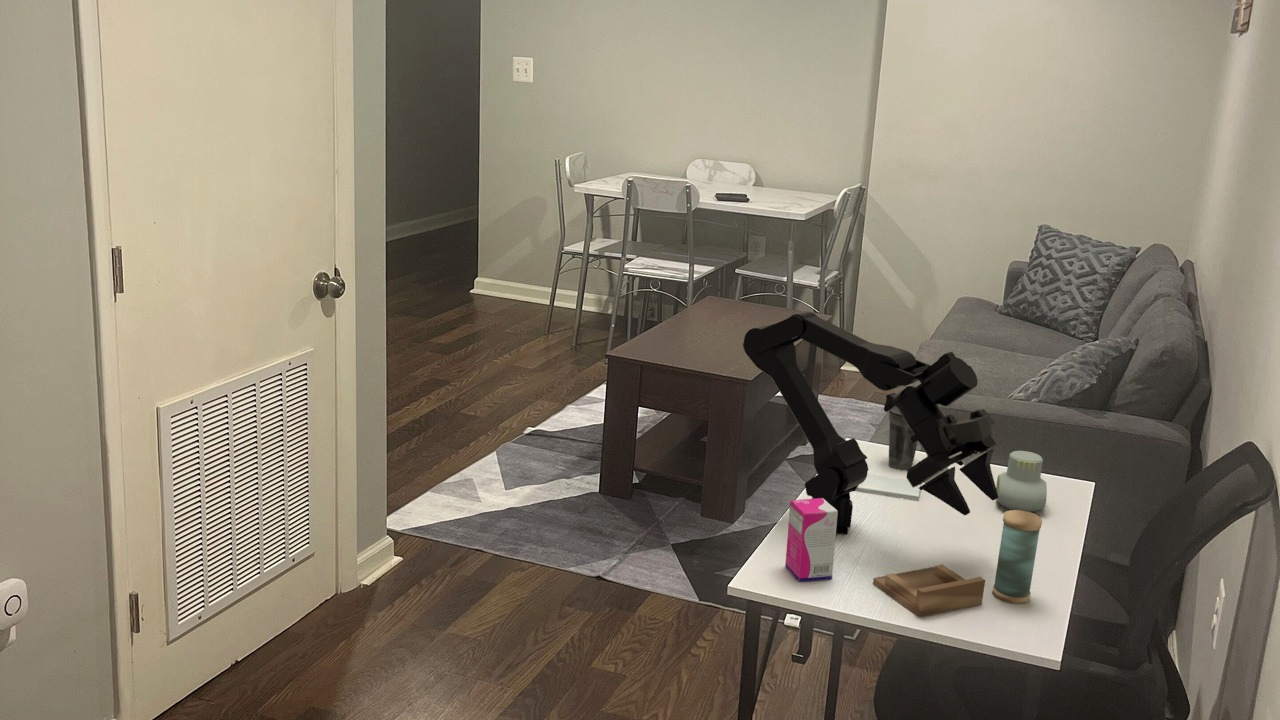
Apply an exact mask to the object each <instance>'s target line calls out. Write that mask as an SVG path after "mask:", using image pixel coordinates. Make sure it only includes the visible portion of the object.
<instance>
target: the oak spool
mask: <svg viewBox="0 0 1280 720" xmlns="http://www.w3.org/2000/svg"><path fill="white" fill-rule="evenodd" d="M1002 522H1003V525H1002V531H1001V532H1002V533H1001V538H1000V546H999V552H998V556H997V565H996V571H995V580H994V583H993V586H992V589H991V590H992V591H991V594H992V595H993V597H995V598H996V599H997V600H999V601H1002V602H1005V603H1008V604H1013V605H1022V604H1023V605H1024V604H1027V603H1028V602H1029V601H1030V599H1031V585H1032V580H1033V579H1032V578H1033V574H1034V568H1035V562H1036V561H1035V560H1036V555H1037V548H1038V541H1039V536H1040V531H1041V528H1042V524H1043V519H1042V518H1041V516H1039V515H1038V514H1036V513H1033V512H1027V511H1021V510H1012V509H1008V510H1006V511H1005V512H1003V517H1002Z"/></svg>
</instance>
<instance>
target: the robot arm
mask: <svg viewBox="0 0 1280 720" xmlns="http://www.w3.org/2000/svg"><path fill="white" fill-rule="evenodd" d="M800 340H803V341H805V342H807V343H809V344H811V345H813V346H815V347H816V348H819V349H821V350H822V351H824V352H827V353H829V354H831V355H833V356H834V357H837V358H838V359H840V360H842V361H844V362H846V363H848V364H850V365H852V366H853V367H855V368H856V369H857V370H858V371H859V373H860V375H861V376H862V377H863V378H864V379H865V380H867V381H868V382H869V383H870V384H872V385H873V386H875V387H876V389H879V390H882V391H886V392H887V391H891V390H894V389H897V388H900V387H904V388H903V389H902V390H900V391H899V392H898V393H895V392H892V393H889V394H887V395H886V396H885V398H886V400H885V403H884V408H883V411H884V412H885V413H889V411H891V410H893V409H896V408H897V409H898V410H899V412H900V413H901V415H902V417H903V418H904V420H905V421H906V423H907V424H908V426H909V428H910V429H911V431H912V432H913V434H914V436H912V437H911V438H910V439H911V441H912V442H913V443H916V442H917V443H919V445H920V446H921V448H922V450H923V451H924V452H925V454H926V457H924V458H922V459H921V460H920V461H918V462H917V463H915V464H914V465H912V467H911V468H909V469H908V470H906V480H908V481H909V483H910V484H911V486H912V487H913V488H914V487H916V486H918V485H920V484H921V487H919V489H920V491H925V492H926V493H928V494H930V495H931V496H933V497H935V498H936V499H938V500H940V501H941V502H943V503H945V504H946V505H947V506H950V507H951V508H952V509H954V510H955V511H957V512H959V513H960V514H961V515H962V516H967V515H968V514H970V513H971V510H970V508H969V505H968V503H967V501H966V499H965V497H964V496H963V493H962V492H961V489H960V488H959V486H958V484H957V481H956V480H955V479H956V478H955V476H956V466H953V467H950V466H951V465H954V464H957V465H959V466H962V467H960V468H958V470H959V471H961V473H962V474H963V475H964V476H966V478H967V479H969V480H970V481H971V482H972V483H973V484H974V486H976V487H977V488H978V489H979V490H980V491H981V492H982V493H983V494H984V495H985V496H986V497H988V498H989V499H990V500H991V501H996V499H997V498H998V493H997V489H996V483H995V479H994V476H993V472H992V468H991V460H992V457H993V454H994V453H995V448H994V447H995V446H996V445H997V443H996V441H995V440H994V438H993V437H992V436H994V433H993V430H992V427H993V425H994V424H995V420H994V419H993V418H992V417H991V415H990V414H989V413H988V412H987V411H986V410H985V408H981V409H977V410H974V411H972V412H970V415H969V418H966V419H964V420H957V419H956V417H955V416H954V415H952V414H948V415H946V414H945V413H944V411H943V410H942V408H941V407H940V405H941V406H942V407H949V406H950V405H952V404H953V403H955V402H956V401H957V400H959V399H960V398H962V397H964V396H965V395H966V394H968V393H969V392H971V391H972V390H973V389H975V388H976V387H977V386H978V383H979V382H978V376H977V374H976V372H975V370H974V369H973V367H972V366H971V365H968V364H967V362H966V361H964V360H963V359H962V358H959V357H957V356H956V355H955V354H954V352H953V351H948V352H946V353H944V354H943V355H941V356H940V357H939V358H938V360H936V361H935V362H933V364H932V363H931V364H928V363H926V362H924V361H921V360H919V359H916V357H915V355H914V354H913V353H911V352H910V351H908V350H906V349H902V348H898V347H895V346H893V345H892V346H890V345H886V344H885V345H884V344H880V343H879V344H878V343H874V342H870V341H868V340H866V339H864V338H862V337H859V336H857V335H855V334H853V333H851V332H850V331H847V330H845V329H843V328H842V327H839V326H838V325H835V324H833V323H831V322H829V321H827V320H825V319H823V318H821V317H820V316H818V315H817V314H815V313H814V312H813V311H809V310H808V311H807V310H806V311H803V312H799V313H794V314H792V315H791V316H789V317H788V318H785V319H783V320H780V321H779V322H776V323H770V324H766V325H761V326H756V327H754V328H750V329H749V330H748V331H747V332H746V333H745V335H744V338H743V343H742V347H743V351H744V353H745V354H746V357H748V359H750V361H751V362H752V363H753V365H754V366H755V367H756V368H757V369H759V370H760V371H761V372H763V373H764V374H766V375H767V376H769V377H770V378H771V379H772V381H773V382H774V384H775V386H776V388H777V389H778V391H779V392H780V394H781V396H782V398H783V400H784V401H785V402H786V405H787V407H788V409H790V412H791V413H792V415H793V417H794V418H795V420H796V422H797V424H798V425H799V427H800V429H801V431H802V432H803V434H804V436H805V437H806V439H807V441H808V443H809V444H810V445H811V447H812V451H813V454H812V455H813V466H814V469H815V471H816V475H815V476H813V477H811V478H810V479H808V480H807V481H805V482H804V488H805V493H806V495H807V496H809V497H811V499H816V498H823V499H824V500H826V501H827V502H828V503H829V504H830V505H831V506H832V507H834V508H835V509H836V510H837V511H838V515H837V527H836V535H838V534H839V535H849V528H850V527H851V525H852V519H853V518H852V517H853V516H852V515H853V508H854V506H853V501H852V500H851V495H850V493H852V492H857V491H856V489H857V487H858V485H859V484H861V483H863V482H864V481H865V479H866V477H867V474H868V471H869V465H868V463H867V461H866V460H867V459H868V456H867V455H866V454H865V453H863V451H862V450H861V448H860V446H859V443H858V441H857V439H855V438H854V437H853V438H850V439H847V440H846V439H845V438H843V437H842V436H840V434H839V433H838V432H837V431H836V428H835V427H834V425H833V424H832V422H831V420H830V418H829V417H828V416H827V414H826V412H825V410H824V409H823V407H822V405H821V404H820V402H819V400H818V398H817V397H816V395H815V393H814V392H813V390H812V388H811V386H810V385H809V383H808V382H807V380H806V378H805V376H804V375H803V373H802V372H801V369H800V367H799V366H798V363H797V354H796V353H797V351H796V346H795V343H796V342H798V341H800ZM918 382H920V384H918V385H917V386H911V384H912V383H914V384H915V383H918ZM949 467H950V468H949Z"/></svg>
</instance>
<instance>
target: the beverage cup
mask: <svg viewBox="0 0 1280 720" xmlns="http://www.w3.org/2000/svg"><path fill="white" fill-rule="evenodd" d="M914 384H915V383H912V384H910V386H913V387H915V386H914ZM888 420H889V434H888V435H889V436H888V437H889V438H888V440H889V443H888V466H889V467H890V468H891V469H894V470H899V471H907V470H908V469H909V468H911V467H912V466H913V464H914V459H915V455H916V451H917V445H918V442H916V443H913V442H912V441H911V439H910V438H911V437H912V436H914V434H913V432H912V431H911V429H910V428H909V426H908V424H907V423H906V421H905V420H904V418H903V417H902V415H901V413H900V412H899V410H898V409H897V408H896V409H893V410H891V411H888Z"/></svg>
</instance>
